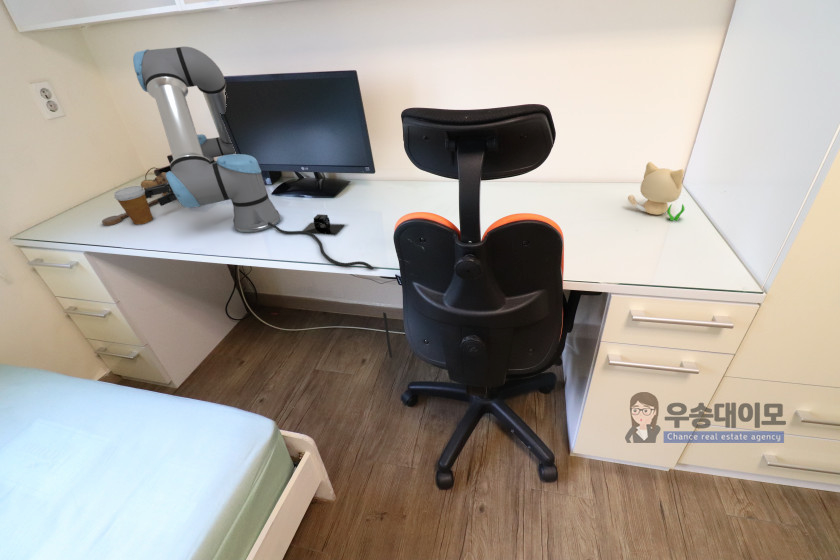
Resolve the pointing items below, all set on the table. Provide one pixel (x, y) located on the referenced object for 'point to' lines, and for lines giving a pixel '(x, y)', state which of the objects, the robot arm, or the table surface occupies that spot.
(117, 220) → the spoon
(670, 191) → the kitten
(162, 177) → the lion figurine
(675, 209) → the table surface
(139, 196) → the disposable coffee cup
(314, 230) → the build plate
